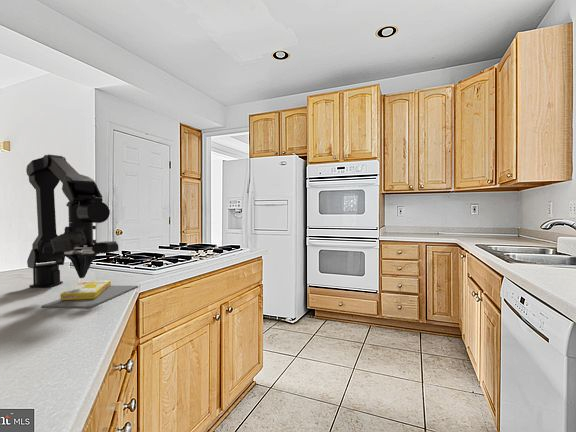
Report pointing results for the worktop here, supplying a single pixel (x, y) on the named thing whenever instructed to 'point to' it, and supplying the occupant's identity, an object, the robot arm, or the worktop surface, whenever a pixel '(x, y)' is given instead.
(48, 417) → the worktop surface
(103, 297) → the mat
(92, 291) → the candy box
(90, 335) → the worktop surface
